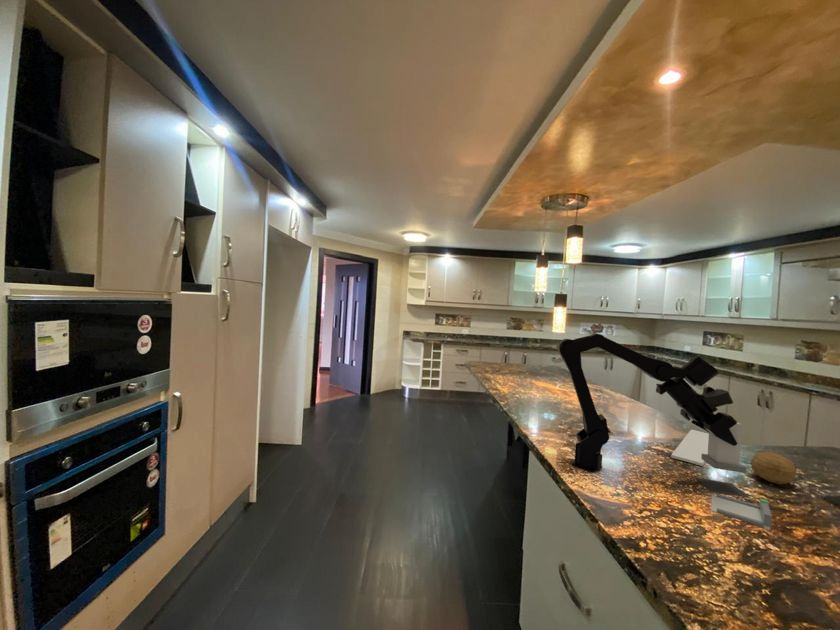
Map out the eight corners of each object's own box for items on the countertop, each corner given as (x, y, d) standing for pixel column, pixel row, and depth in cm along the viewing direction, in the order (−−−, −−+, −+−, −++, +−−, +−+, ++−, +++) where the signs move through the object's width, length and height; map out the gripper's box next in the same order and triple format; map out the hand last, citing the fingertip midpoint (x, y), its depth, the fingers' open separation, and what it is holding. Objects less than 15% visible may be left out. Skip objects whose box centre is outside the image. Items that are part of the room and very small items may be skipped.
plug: (714, 468, 95) (717, 416, 95) (701, 458, 102) (704, 410, 102) (745, 473, 93) (748, 419, 93) (730, 462, 100) (733, 413, 100)
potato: (790, 479, 107) (791, 452, 107) (801, 495, 96) (803, 466, 96) (746, 468, 113) (748, 444, 113) (752, 483, 102) (753, 455, 102)
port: (711, 512, 84) (712, 497, 84) (711, 496, 92) (712, 483, 92) (771, 530, 77) (772, 515, 77) (765, 511, 86) (766, 497, 86)
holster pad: (710, 492, 94) (710, 491, 94) (694, 478, 103) (694, 477, 103) (751, 499, 92) (751, 498, 92) (731, 484, 101) (731, 483, 101)
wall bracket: (701, 485, 112) (717, 455, 131) (709, 466, 110) (724, 438, 129) (665, 467, 119) (685, 440, 138) (672, 448, 117) (691, 424, 136)
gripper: (729, 384, 90) (781, 434, 87) (694, 374, 108) (736, 415, 105) (691, 411, 92) (740, 460, 89) (663, 396, 110) (703, 437, 107)
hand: (729, 441), depth 97 cm, fingers closed on plug, 5 cm apart
